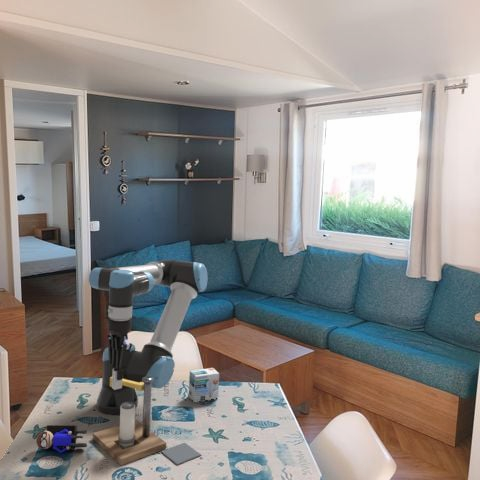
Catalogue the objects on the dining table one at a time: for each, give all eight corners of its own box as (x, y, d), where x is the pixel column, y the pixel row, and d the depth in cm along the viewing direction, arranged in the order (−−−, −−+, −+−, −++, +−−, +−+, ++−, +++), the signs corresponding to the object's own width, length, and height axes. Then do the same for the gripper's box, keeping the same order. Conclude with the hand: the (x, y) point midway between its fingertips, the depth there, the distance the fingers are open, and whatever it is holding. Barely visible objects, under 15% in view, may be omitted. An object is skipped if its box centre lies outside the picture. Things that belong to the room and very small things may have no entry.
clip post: (138, 435, 160) (140, 377, 158) (147, 432, 163) (149, 375, 161) (143, 440, 158) (146, 381, 156) (153, 437, 160) (155, 378, 158)
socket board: (92, 439, 160) (93, 433, 160) (136, 425, 171) (136, 419, 171) (120, 465, 146) (121, 459, 146) (166, 448, 157) (166, 442, 157)
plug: (114, 447, 156) (116, 403, 154) (129, 442, 160) (131, 399, 158) (123, 454, 152) (124, 410, 150) (138, 449, 156) (139, 405, 154)
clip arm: (113, 384, 166) (113, 375, 165) (145, 392, 160) (145, 383, 160) (108, 386, 163) (109, 377, 163) (141, 395, 158) (141, 385, 158)
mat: (161, 452, 154) (161, 451, 154) (184, 443, 160) (184, 442, 160) (177, 465, 148) (177, 464, 148) (201, 455, 154) (201, 454, 154)
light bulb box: (194, 403, 191) (195, 376, 190) (187, 396, 197) (188, 370, 196) (218, 399, 196) (220, 373, 195) (211, 392, 202) (213, 367, 200)
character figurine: (84, 456, 150) (34, 456, 149) (89, 442, 158) (42, 442, 156) (84, 433, 149) (33, 433, 148) (89, 420, 156) (41, 420, 155)
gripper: (100, 314, 161) (97, 383, 163) (119, 324, 150) (115, 398, 153) (120, 311, 165) (117, 378, 168) (140, 321, 155) (137, 392, 158)
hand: (116, 387), depth 160 cm, fingers closed
